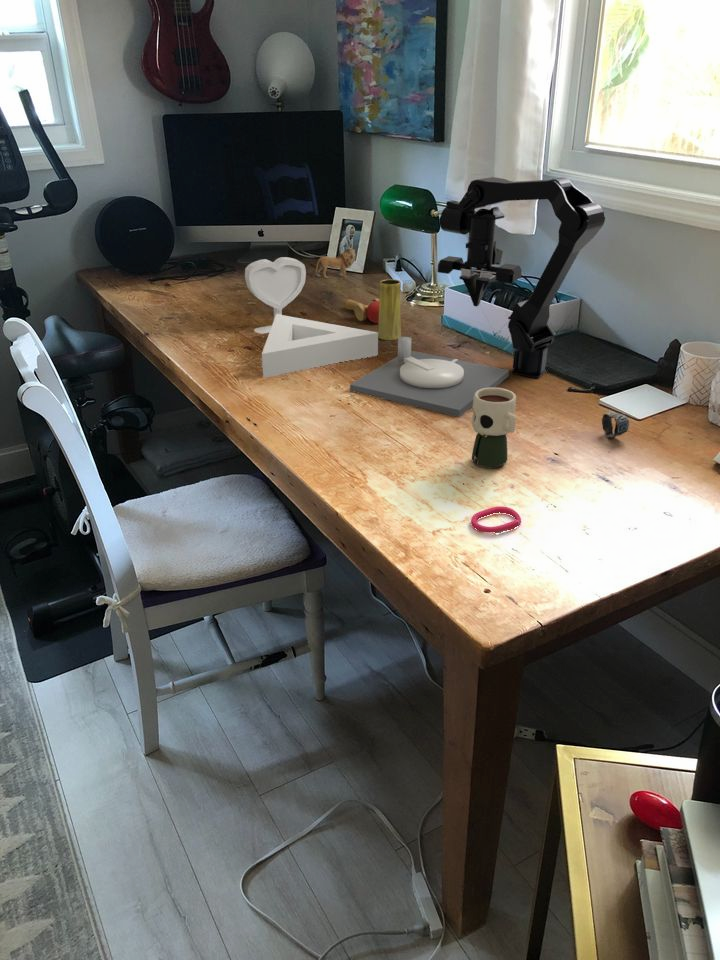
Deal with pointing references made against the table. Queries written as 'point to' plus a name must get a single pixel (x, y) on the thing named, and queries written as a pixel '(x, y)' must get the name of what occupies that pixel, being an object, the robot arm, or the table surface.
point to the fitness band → (497, 528)
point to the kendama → (364, 310)
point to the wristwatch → (620, 426)
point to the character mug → (492, 425)
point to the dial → (427, 369)
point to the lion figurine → (336, 262)
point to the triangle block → (313, 345)
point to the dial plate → (441, 400)
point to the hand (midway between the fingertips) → (476, 305)
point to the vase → (389, 310)
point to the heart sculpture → (275, 283)
